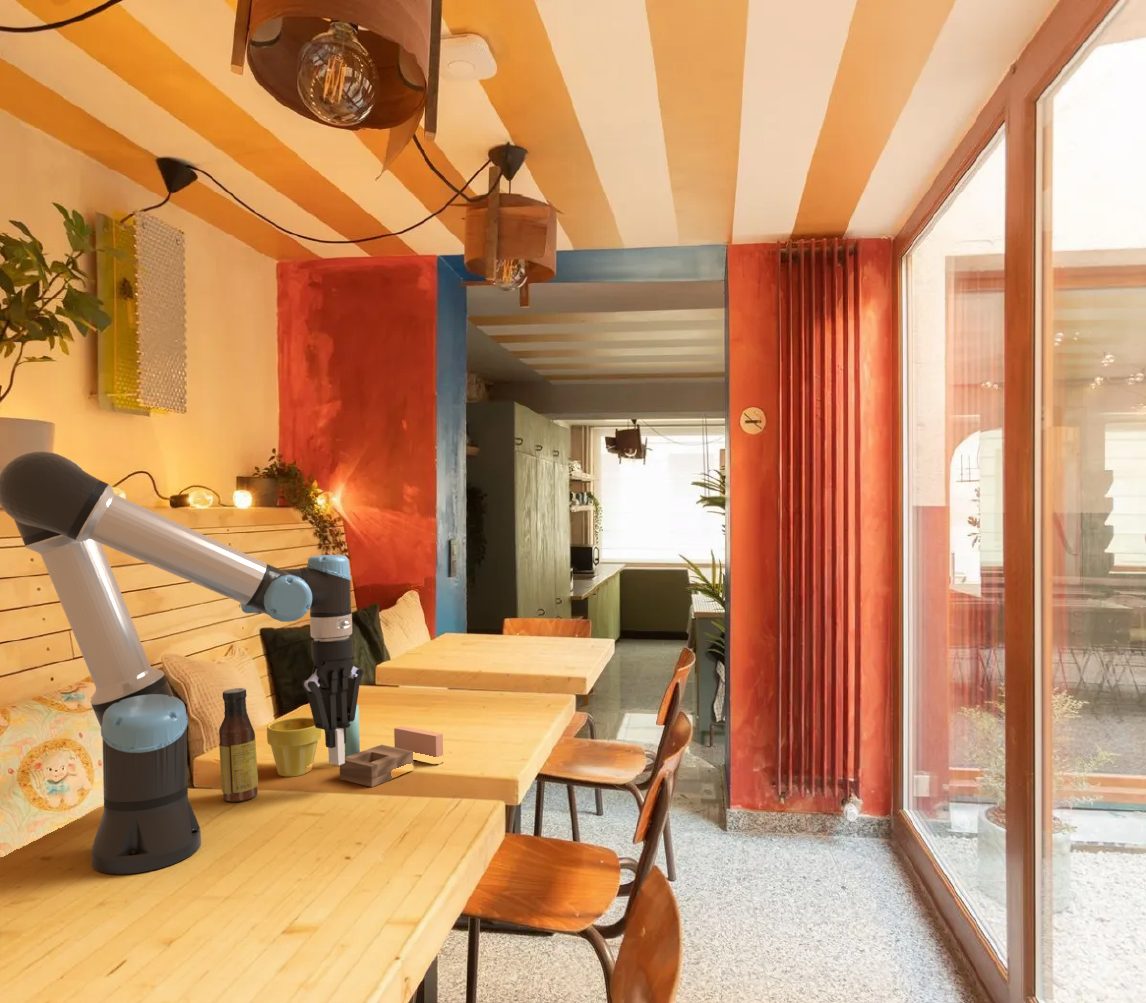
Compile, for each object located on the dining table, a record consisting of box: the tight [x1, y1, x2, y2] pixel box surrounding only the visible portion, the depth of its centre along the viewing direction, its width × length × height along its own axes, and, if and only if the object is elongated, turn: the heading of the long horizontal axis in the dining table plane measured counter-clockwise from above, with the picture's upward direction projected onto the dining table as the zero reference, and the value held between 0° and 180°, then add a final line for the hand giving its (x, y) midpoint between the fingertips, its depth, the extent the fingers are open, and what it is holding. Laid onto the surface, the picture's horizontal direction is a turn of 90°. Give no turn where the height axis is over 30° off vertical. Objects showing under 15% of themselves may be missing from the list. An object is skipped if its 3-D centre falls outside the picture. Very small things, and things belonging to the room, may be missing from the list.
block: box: [339, 744, 414, 788], centre depth 165 cm, size 11×9×4 cm
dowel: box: [344, 703, 361, 757], centre depth 172 cm, size 3×3×12 cm
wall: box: [393, 725, 444, 757], centre depth 174 cm, size 2×12×6 cm, turn 56°
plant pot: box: [266, 716, 322, 778], centre depth 168 cm, size 10×10×10 cm
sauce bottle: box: [218, 687, 259, 803], centre depth 154 cm, size 6×6×20 cm
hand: (336, 763), depth 156 cm, fingers closed
